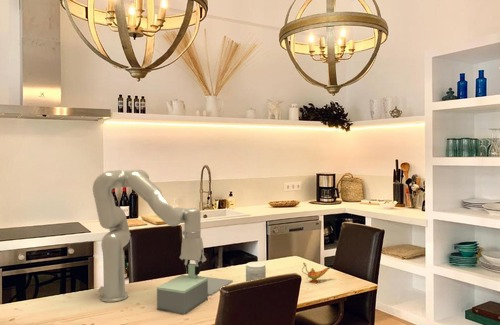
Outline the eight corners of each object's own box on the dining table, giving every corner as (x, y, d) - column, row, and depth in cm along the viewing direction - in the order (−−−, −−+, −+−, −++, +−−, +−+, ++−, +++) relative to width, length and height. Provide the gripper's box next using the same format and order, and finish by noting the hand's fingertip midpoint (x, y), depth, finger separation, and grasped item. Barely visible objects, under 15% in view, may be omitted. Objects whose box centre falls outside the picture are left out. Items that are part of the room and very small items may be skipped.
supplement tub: (245, 291, 206) (244, 261, 206) (264, 290, 207) (264, 261, 206) (246, 298, 196) (246, 267, 196) (267, 297, 197) (266, 266, 197)
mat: (172, 289, 209) (172, 288, 209) (197, 276, 231) (197, 275, 231) (211, 295, 200) (211, 294, 200) (233, 281, 222) (233, 280, 222)
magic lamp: (334, 281, 221) (334, 260, 221) (305, 285, 215) (305, 264, 214) (327, 277, 228) (327, 257, 227) (298, 281, 221) (298, 261, 221)
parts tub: (157, 309, 182) (156, 289, 182) (182, 295, 201) (182, 276, 200) (184, 314, 177) (184, 293, 176) (207, 299, 195) (207, 280, 195)
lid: (156, 291, 182) (156, 273, 182) (182, 278, 200) (181, 262, 200) (184, 295, 176) (184, 276, 176) (207, 282, 195) (207, 265, 195)
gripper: (172, 235, 196) (173, 274, 196) (204, 237, 189) (204, 278, 189) (181, 232, 202) (182, 269, 203) (212, 234, 196) (212, 273, 196)
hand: (192, 273), depth 196 cm, fingers closed on lid, 4 cm apart
